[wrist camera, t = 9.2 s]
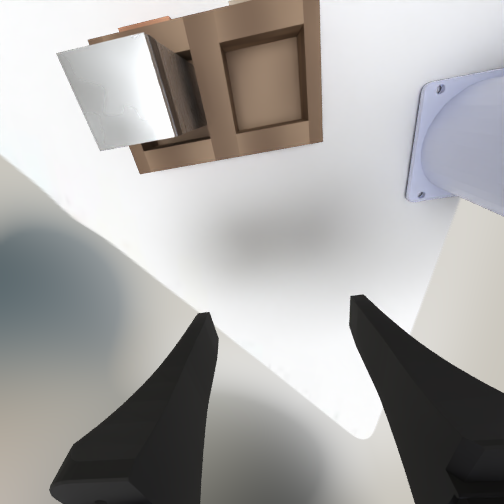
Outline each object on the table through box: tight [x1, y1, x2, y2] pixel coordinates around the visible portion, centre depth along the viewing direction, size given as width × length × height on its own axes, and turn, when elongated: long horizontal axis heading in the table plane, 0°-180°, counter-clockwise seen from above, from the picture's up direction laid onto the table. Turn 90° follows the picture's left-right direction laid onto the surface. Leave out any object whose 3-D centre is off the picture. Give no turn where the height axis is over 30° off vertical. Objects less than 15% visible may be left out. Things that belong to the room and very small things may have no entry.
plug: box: [56, 32, 207, 151], centre depth 13 cm, size 3×3×8 cm
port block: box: [88, 0, 323, 174], centre depth 15 cm, size 12×7×3 cm, turn 100°
